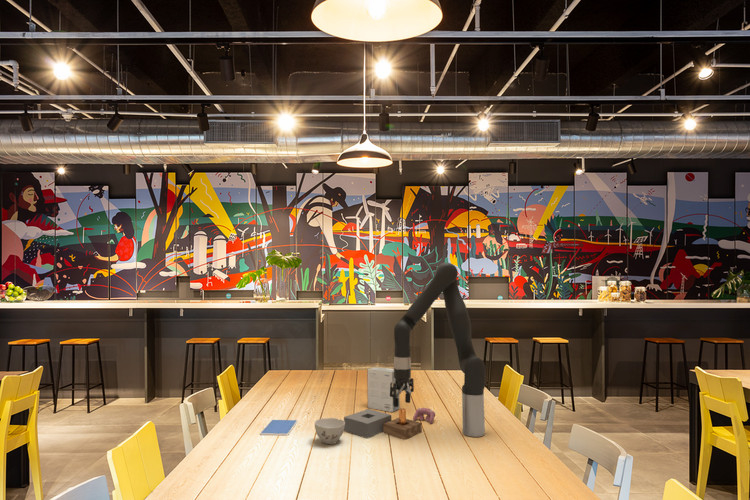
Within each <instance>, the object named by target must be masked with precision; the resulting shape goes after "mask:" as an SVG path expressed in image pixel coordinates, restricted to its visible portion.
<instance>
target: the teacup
mask: <svg viewBox="0 0 750 500" xmlns="http://www.w3.org/2000/svg"><path fill="white" fill-rule="evenodd" d="M344 427H345V421H344V419H341V418H340V419H339V418H336V417H325V418H323V417H322V418H319V419H317V420H315V421H314V429H315V432H316V435H317V437H318V438H319V439H320V440H321V442H322V443H323V444H325V445H333V444H336V443H337V442H338V440H340V438H341V437H342V435H343V433H344V432H345V431H344ZM320 440H319V441H320Z"/></svg>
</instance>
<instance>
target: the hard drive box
mask: <svg viewBox="0 0 750 500" xmlns="http://www.w3.org/2000/svg"><path fill="white" fill-rule="evenodd" d="M366 373H367V379H366V380H367V409H371V410H376V411H378V410H379V411H383V412H390V413H394V412H396V411H399V409H400V407H401V406H400V402H401V401H400V396H399V397H398V398H399V406H398V407H394V405H393V397H390V383H391V382H392V383H395V380H396V379H395V378H394V368H386V367H377V366H376V367H375V366H373V367H372V368H368V369H367V372H366ZM393 393H394V392H393V391H392V394H393ZM396 395H397V393H396Z"/></svg>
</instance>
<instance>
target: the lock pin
mask: <svg viewBox="0 0 750 500" xmlns="http://www.w3.org/2000/svg"><path fill="white" fill-rule="evenodd" d="M398 418H399V425H403V426H404V425H406V419H407V408H404V407H401V408H400V409H398Z"/></svg>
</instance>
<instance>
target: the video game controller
mask: <svg viewBox="0 0 750 500" xmlns="http://www.w3.org/2000/svg"><path fill="white" fill-rule="evenodd" d="M425 415H426V416H425ZM435 417H436V413H435V411H434V410H433V409H430V408H428V407H418V408H417V409H416V410H415V413H414V415H413V418H412V420H413V421H417V419H418V418H419V420H420V421H424V420H425V421H426V422H427V423H429V425H432V424H433V423H434V419H435Z"/></svg>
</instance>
